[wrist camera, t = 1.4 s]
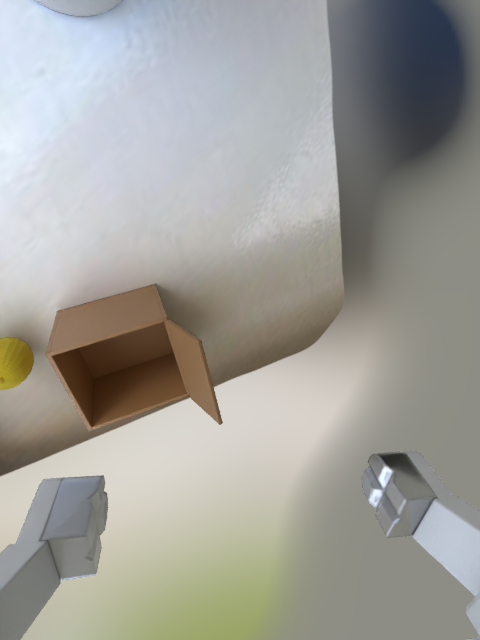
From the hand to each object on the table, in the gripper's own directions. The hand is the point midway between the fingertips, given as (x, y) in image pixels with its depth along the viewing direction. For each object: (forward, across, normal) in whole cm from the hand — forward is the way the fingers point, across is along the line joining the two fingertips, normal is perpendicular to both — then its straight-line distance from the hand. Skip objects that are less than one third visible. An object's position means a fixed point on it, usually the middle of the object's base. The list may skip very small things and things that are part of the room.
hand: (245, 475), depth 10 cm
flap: (+24, 0, +15) cm, 28 cm away
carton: (+36, +10, +17) cm, 41 cm away
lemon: (+34, +23, +17) cm, 45 cm away
